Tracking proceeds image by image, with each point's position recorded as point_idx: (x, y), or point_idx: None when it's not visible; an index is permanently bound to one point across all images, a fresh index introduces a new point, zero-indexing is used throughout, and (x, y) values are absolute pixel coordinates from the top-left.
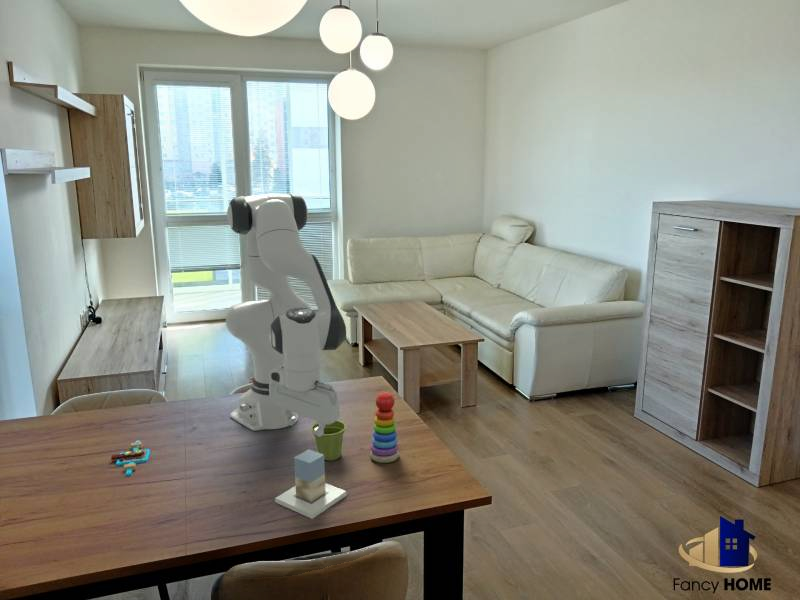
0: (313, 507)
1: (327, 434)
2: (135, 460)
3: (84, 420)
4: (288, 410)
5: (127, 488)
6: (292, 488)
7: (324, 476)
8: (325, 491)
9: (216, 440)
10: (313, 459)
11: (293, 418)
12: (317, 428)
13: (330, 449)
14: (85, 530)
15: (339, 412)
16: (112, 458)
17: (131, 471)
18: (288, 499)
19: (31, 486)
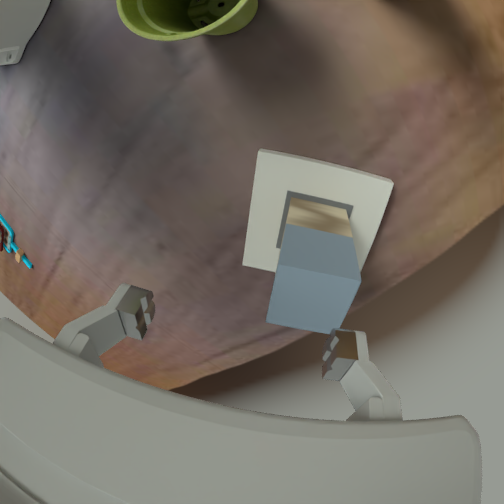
0: None
1: (217, 22)
2: (10, 241)
3: None
4: (97, 357)
5: (54, 288)
6: (252, 220)
7: (351, 235)
8: (346, 211)
9: (7, 131)
10: (337, 316)
11: (138, 324)
12: (346, 392)
13: (237, 21)
14: (107, 351)
15: (480, 458)
16: (1, 250)
17: (26, 261)
18: (274, 261)
19: (21, 303)
